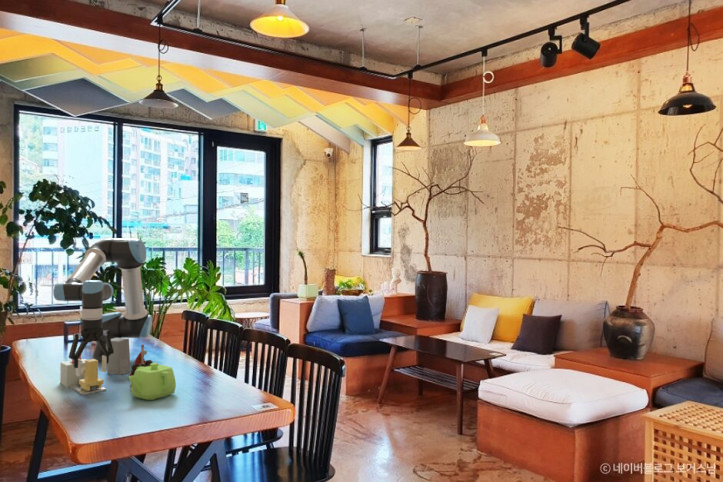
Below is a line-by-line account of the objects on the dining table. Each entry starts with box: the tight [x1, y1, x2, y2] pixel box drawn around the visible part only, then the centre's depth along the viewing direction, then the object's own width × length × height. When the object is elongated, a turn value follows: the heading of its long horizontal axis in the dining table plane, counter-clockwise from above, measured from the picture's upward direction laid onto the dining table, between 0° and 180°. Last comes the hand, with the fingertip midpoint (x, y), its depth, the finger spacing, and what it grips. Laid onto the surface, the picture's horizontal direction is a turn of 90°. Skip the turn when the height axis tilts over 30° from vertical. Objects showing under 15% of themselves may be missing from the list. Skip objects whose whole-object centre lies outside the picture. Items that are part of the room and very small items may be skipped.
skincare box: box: [106, 338, 131, 376], centre depth 253 cm, size 8×7×16 cm
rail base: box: [68, 379, 107, 396], centre depth 226 cm, size 9×15×3 cm, turn 47°
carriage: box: [79, 358, 104, 391], centre depth 224 cm, size 7×7×11 cm
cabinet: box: [59, 358, 88, 388], centre depth 235 cm, size 10×8×9 cm
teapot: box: [127, 362, 177, 401], centre depth 216 cm, size 18×20×13 cm
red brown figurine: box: [129, 344, 154, 389], centre depth 230 cm, size 11×9×18 cm
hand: (91, 373), depth 224 cm, fingers open, 9 cm apart
